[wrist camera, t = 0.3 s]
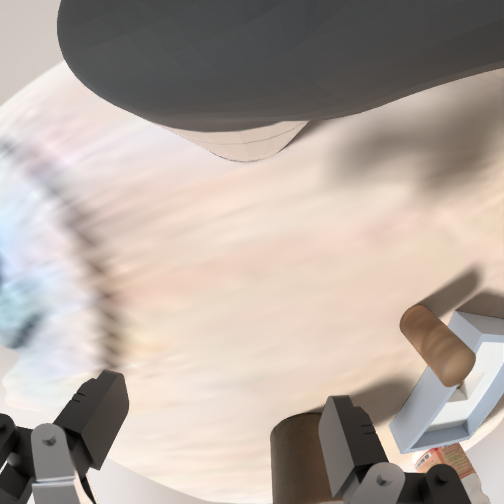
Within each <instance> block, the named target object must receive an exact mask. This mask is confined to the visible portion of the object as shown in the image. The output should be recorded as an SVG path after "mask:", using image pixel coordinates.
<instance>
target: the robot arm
mask: <svg viewBox="0 0 504 504" xmlns="http://www.w3.org/2000/svg"><path fill="white" fill-rule="evenodd" d="M57 35H58V41H59V45H60V48H61V51H62V54H63V57H64V59H65V61H66V63H67V64H68V66H69V68H70V69H71V71H72V72H73V73H74V75H75V76H76V77H77V78H78V79H79V80H80V81H81V82H82V83H83V84H84V85H85V86H86V87H87V88H89V89H90V90H91V91H93V92H94V93H95V94H97V95H98V96H99V97H101V98H103V99H105V100H106V101H108V102H110V103H112V104H113V105H115V106H117V107H120V108H122V109H124V110H126V111H128V112H131V113H133V114H135V115H137V116H139V117H142V118H143V119H145V120H147V121H150V122H152V123H154V124H156V125H158V126H160V127H162V128H165V129H167V130H169V131H171V132H173V133H175V134H177V135H179V136H181V137H183V138H185V139H187V140H189V141H191V142H193V143H195V144H197V145H199V146H201V147H203V148H205V149H207V150H209V151H210V152H212V153H213V154H215V155H217V156H219V157H222V158H224V159H227V160H231V161H236V162H255V161H259V160H263V159H266V158H268V157H270V156H272V155H274V154H276V153H277V152H279V151H280V150H281V149H282V148H283V147H285V146H286V145H287V144H288V143H289V142H290V141H291V140H292V139H293V138H294V137H295V136H296V134H297V133H298V132H299V131H300V130H301V129H302V128H303V127H304V126H305V125H306V124H307V123H308V122H309V121H315V120H325V119H332V118H339V117H344V116H349V115H353V114H358V113H361V112H364V111H367V110H370V109H373V108H376V107H379V106H382V105H384V104H387V103H390V102H392V101H395V100H398V99H400V98H403V97H406V96H409V95H411V94H414V93H417V92H420V91H423V90H426V89H429V88H432V87H435V86H438V85H441V84H445V83H448V82H451V81H455V80H458V79H461V78H465V77H469V76H472V75H476V74H480V73H484V72H488V71H492V70H496V69H500V68H504V0H61V3H60V7H59V11H58V18H57ZM128 410H129V399H128V394H127V389H126V384H125V379H124V376H123V374H121V373H117V372H113V371H109V370H104V371H103V372H102V373H101V374H100V375H99V377H98V378H97V379H94V378H92V379H90V380H88V381H87V382H85V383H83V384H82V385H81V387H80V388H79V389H78V391H77V393H75V394H74V396H73V397H72V400H70V401H69V402H68V404H67V405H66V406H65V408H64V409H63V410H62V412H61V413H60V414H59V416H58V417H57V418H56V420H55V421H54V422H53V423H52V424H50V423H46V424H41V425H39V426H37V427H36V428H35V429H34V430H33V429H28V428H23V427H18V426H16V425H15V424H14V422H13V420H12V419H11V418H10V416H8V415H6V414H1V413H0V469H1V468H2V466H3V464H4V463H5V461H6V460H7V461H8V462H7V464H6V466H5V467H4V469H3V471H2V472H1V474H0V504H27V502H28V500H29V498H30V496H31V493H32V491H33V496H34V501H35V504H98V501H97V499H96V496H95V494H94V491H93V488H92V486H91V483H90V480H89V477H88V475H87V471H88V469H89V468H90V467H91V468H94V469H96V470H100V468H101V466H102V464H103V462H104V460H105V458H106V456H107V454H108V452H109V450H110V448H111V446H112V444H113V442H114V440H115V438H116V436H117V434H118V432H119V430H120V428H121V426H122V424H123V422H124V420H125V418H126V416H127V414H128ZM319 438H320V442H321V447H322V451H323V456H324V460H325V465H326V469H327V474H328V478H329V483H330V487H331V492H332V497H333V498H339V497H343V501H344V504H472V503H471V501H470V499H469V497H468V494H467V492H466V490H465V488H464V486H463V484H462V482H461V480H460V478H459V476H458V473H457V472H456V470H455V469H454V468H453V467H451V466H450V465H447V464H436V465H434V466H432V467H431V468H430V469H429V470H428V471H427V472H426V473H407V472H403V470H402V469H401V468H400V467H399V466H397V465H395V464H393V463H389V461H388V459H387V456H386V454H385V452H384V449H383V447H382V445H381V442H380V440H379V438H378V435H377V434H376V431H375V429H374V426H372V422H371V420H370V417H369V415H368V414H367V413H366V412H365V411H364V410H363V409H362V408H361V407H353V404H352V402H351V399H350V397H349V396H348V395H340V396H329V397H328V399H327V401H326V404H325V407H324V410H323V413H322V416H321V419H320V422H319Z"/></svg>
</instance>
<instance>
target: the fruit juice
mask: <svg viewBox="0 0 504 504" xmlns="http://www.w3.org/2000/svg"><path fill="white" fill-rule="evenodd" d="M412 460H413V463H414V466H415V468H416V470H417V473H426V472H427V471H428V470H429V469H430V468H431V467H432V466H434V465H436V464H447V465H450V466H451V467H453V468H454V469H455V470H456V472H457V473H458V476H459V478H460V480H461V482H462V484H463V486H464V488H465V490H466V492H467V494H468V497H469V499H470V501H471V503H472V504H490V500H489V498H488V497H487V496H486V495H485V494H484V493H483V492H482V490H481V482H480V479H479V477H478V475H477V473H476V472H475V470H474V468H473V467H472V464H471V463H470V461H469V459H468V458H467V456H466V454H465V452H464V451H463V449H462V447H461V446H460V444H459V442H457V443H453V444H449V445H445V446H441V447H437V448H432V449H427V450H422V451H417V452H414V454H413V456H412Z"/></svg>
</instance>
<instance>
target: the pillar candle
mask: <svg viewBox="0 0 504 504" xmlns="http://www.w3.org/2000/svg"><path fill="white" fill-rule="evenodd" d="M321 416H322V414H320V413H309V414H308V413H306V414H301V415H297V416H294V417H291V418H289V419H286V420H283V421H282V422H280V423H279V424H278V425H277V426H276V427H275V428H274V429H273V430H272V432H271V435H270V442H271V469H272V494H273V504H344V501H343V497H339V498H333V497H332V492H331V487H330V483H329V478H328V474H327V469H326V465H325V460H324V456H323V451H322V447H321V442H320V438H319V422H320V419H321Z"/></svg>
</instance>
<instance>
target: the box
mask: <svg viewBox="0 0 504 504" xmlns="http://www.w3.org/2000/svg"><path fill="white" fill-rule="evenodd" d="M448 328H449V329H450V330H451V331H452V332H453V333H455V334H456V335H457V336H458V337H459V338H460V339H461V340H462V341H463V342H464V343H465V344H466V345H467V346H468V347H469V348H470V349H471V350H472V351H473V352H474V353H475V355H476V361H475V365H474V367H473V369H472V371H471V372H470V373H469V375H468V376H467V377H466V379H465V380H464V382H463V384H462V385H461V387H460V388H459V389H456V388H457V386H458V384H457V385H455V386H453V387H445V386H444V385H443V384H442V382H441V381H440V380H439V378H438V377H437V376H436V375H435V373H434V372H433V371H432V369H431V368H430V367H429V365H428V366H427V368H426V370H425V371H424V373H423V375H422V376H421V378H420V380H419V381H418V383H417V385H416V386H415V388H414V390H413V391H412V393H411V394H410V396H409V398H408V399H407V401H406V402H405V404H404V405H403V407H402V408H401V410H400V411H399V412H398V414H397V415H396V417H395V418H394V420H393V421H392V422H391V424H390V425H389V428H390V430H391V432H392V434H393V437H394V439H395V441H396V444H397V446H398V448H399V450H400V453H401V454H405V453H411V452H417V451H422V450H427V449H432V448H437V447H441V446H445V445H449V444H453V443H457V442H461V441H464V440H468V439H470V437H471V436H472V435H473V434H474V433H475V431H476V430H477V429H478V428H479V427H480V425H481V424H482V423H483V421H484V420H485V419H486V417H487V416H488V415H489V413H490V412H491V411H492V409H493V408H494V407H495V405H496V404H497V402H498V401H499V399H500V398H501V396H502V395H503V393H504V319H501V318H495V317H489V316H483V315H477V314H471V313H465V312H459V311H454V313H453V316H452V318H451V320H450V322H449V325H448Z"/></svg>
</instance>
